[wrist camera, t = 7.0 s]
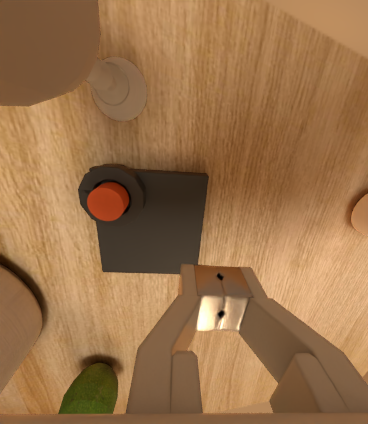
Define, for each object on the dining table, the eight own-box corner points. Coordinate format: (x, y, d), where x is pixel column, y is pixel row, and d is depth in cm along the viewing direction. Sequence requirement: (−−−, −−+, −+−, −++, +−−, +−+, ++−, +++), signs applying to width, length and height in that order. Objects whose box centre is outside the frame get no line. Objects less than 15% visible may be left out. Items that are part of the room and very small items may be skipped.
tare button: (94, 180, 17) (84, 186, 15) (128, 182, 17) (122, 188, 16) (98, 211, 18) (89, 220, 17) (130, 213, 19) (124, 222, 17)
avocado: (96, 346, 31) (52, 464, 20) (132, 365, 33) (110, 479, 22) (69, 367, 33) (15, 485, 22) (105, 383, 35) (72, 496, 24)
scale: (88, 160, 19) (74, 164, 16) (207, 168, 20) (212, 173, 17) (102, 264, 24) (92, 281, 21) (195, 267, 25) (197, 284, 22)
